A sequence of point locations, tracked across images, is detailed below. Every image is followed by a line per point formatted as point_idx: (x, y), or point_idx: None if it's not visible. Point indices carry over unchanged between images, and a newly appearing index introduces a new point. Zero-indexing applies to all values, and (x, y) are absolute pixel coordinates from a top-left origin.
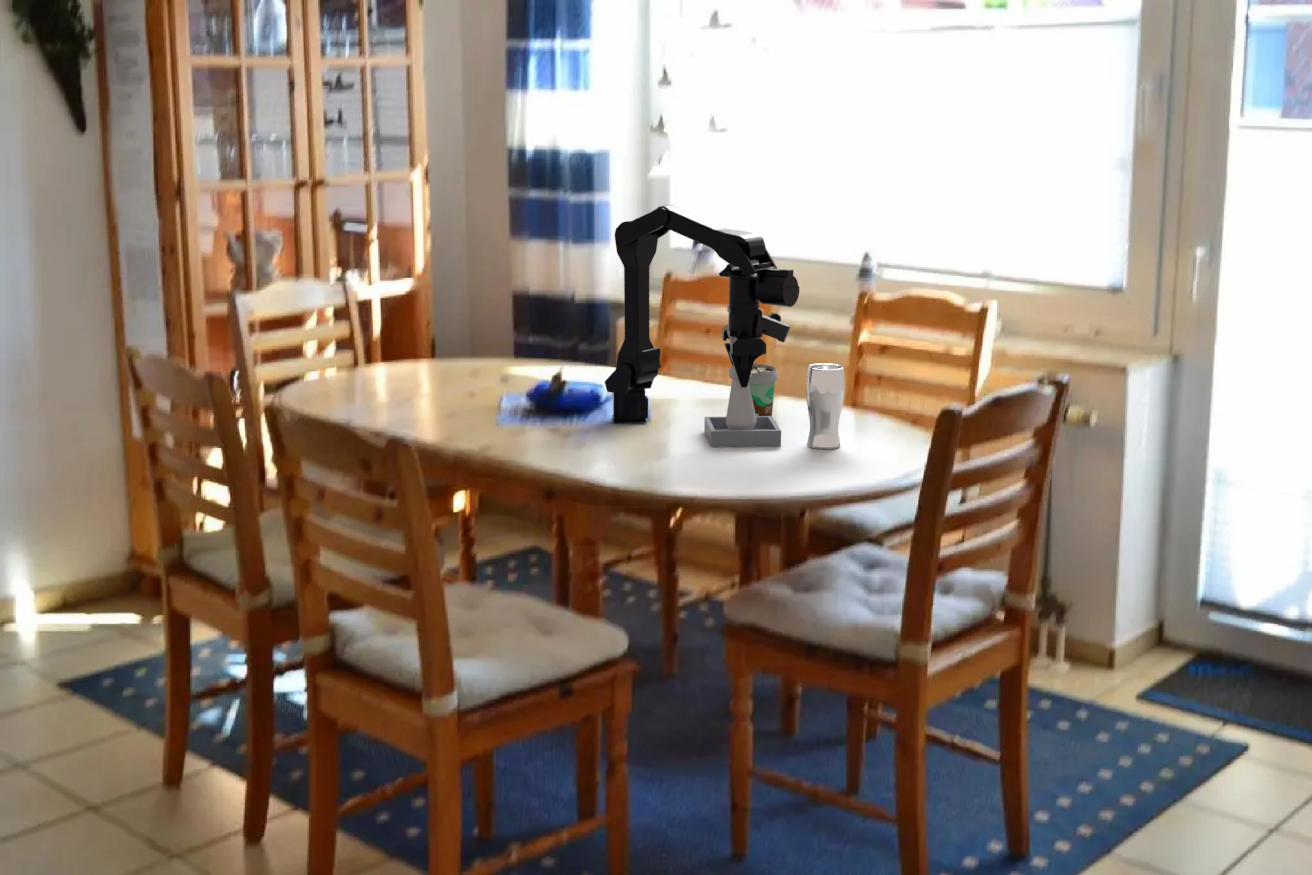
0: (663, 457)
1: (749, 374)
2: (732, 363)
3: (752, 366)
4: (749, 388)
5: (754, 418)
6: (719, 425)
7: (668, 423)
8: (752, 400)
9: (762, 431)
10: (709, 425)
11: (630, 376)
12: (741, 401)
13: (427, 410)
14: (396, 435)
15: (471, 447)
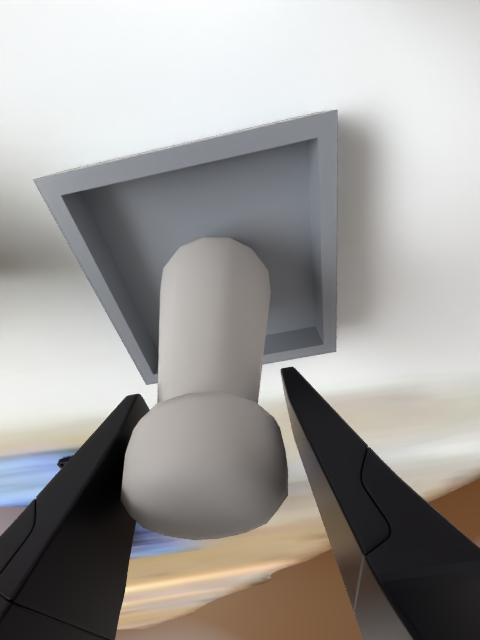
0: (408, 391)
1: (347, 427)
2: (129, 555)
3: (410, 487)
4: (227, 346)
5: (234, 249)
6: (147, 336)
7: (93, 421)
8: (200, 293)
9: (335, 200)
10: None
11: (125, 586)
12: (263, 335)
13: (141, 586)
14: (264, 577)
15: (316, 542)
